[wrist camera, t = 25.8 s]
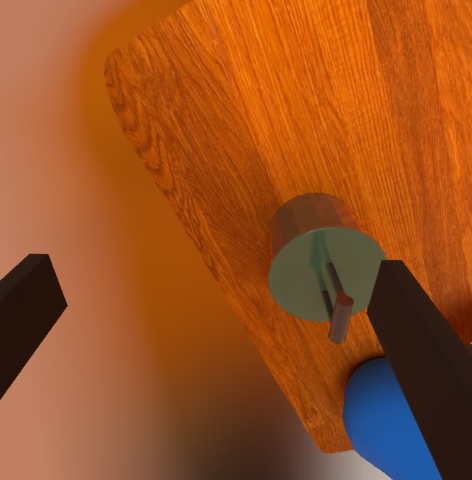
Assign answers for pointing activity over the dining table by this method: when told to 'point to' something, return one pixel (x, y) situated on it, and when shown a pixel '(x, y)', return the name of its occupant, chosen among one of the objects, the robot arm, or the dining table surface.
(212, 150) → the dining table surface
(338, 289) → the lid
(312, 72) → the dining table surface
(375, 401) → the vase
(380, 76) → the dining table surface
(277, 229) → the cylinder
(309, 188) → the dining table surface
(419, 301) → the robot arm
